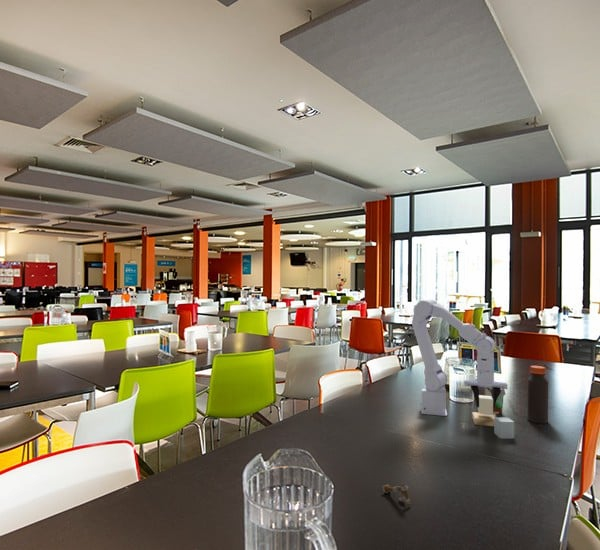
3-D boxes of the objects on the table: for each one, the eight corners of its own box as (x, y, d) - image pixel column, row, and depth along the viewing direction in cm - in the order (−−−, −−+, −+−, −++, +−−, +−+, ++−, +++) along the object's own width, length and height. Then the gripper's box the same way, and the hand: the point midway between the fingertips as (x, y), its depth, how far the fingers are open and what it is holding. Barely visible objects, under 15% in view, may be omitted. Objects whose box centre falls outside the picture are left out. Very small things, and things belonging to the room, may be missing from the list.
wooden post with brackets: (409, 506, 94) (403, 484, 96) (387, 505, 100) (382, 485, 102) (415, 504, 95) (409, 482, 97) (392, 503, 101) (387, 483, 103)
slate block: (500, 438, 138) (500, 421, 138) (494, 433, 142) (494, 417, 142) (514, 438, 138) (514, 421, 138) (507, 433, 142) (507, 417, 142)
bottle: (547, 419, 157) (547, 366, 157) (549, 425, 151) (549, 369, 151) (526, 416, 160) (526, 364, 160) (527, 422, 154) (528, 367, 154)
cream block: (479, 413, 152) (479, 398, 152) (477, 409, 156) (478, 395, 156) (492, 414, 150) (493, 399, 150) (491, 411, 155) (491, 396, 155)
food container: (509, 418, 158) (509, 391, 158) (492, 417, 159) (492, 390, 159) (500, 408, 170) (500, 383, 170) (484, 407, 171) (484, 382, 171)
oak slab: (474, 425, 151) (474, 418, 151) (472, 418, 159) (472, 411, 159) (498, 428, 149) (499, 421, 149) (495, 420, 156) (495, 414, 156)
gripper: (465, 371, 152) (465, 408, 152) (509, 373, 148) (509, 412, 148) (463, 367, 159) (463, 403, 159) (505, 369, 155) (505, 406, 155)
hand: (485, 407), depth 154 cm, fingers closed on cream block, 4 cm apart
